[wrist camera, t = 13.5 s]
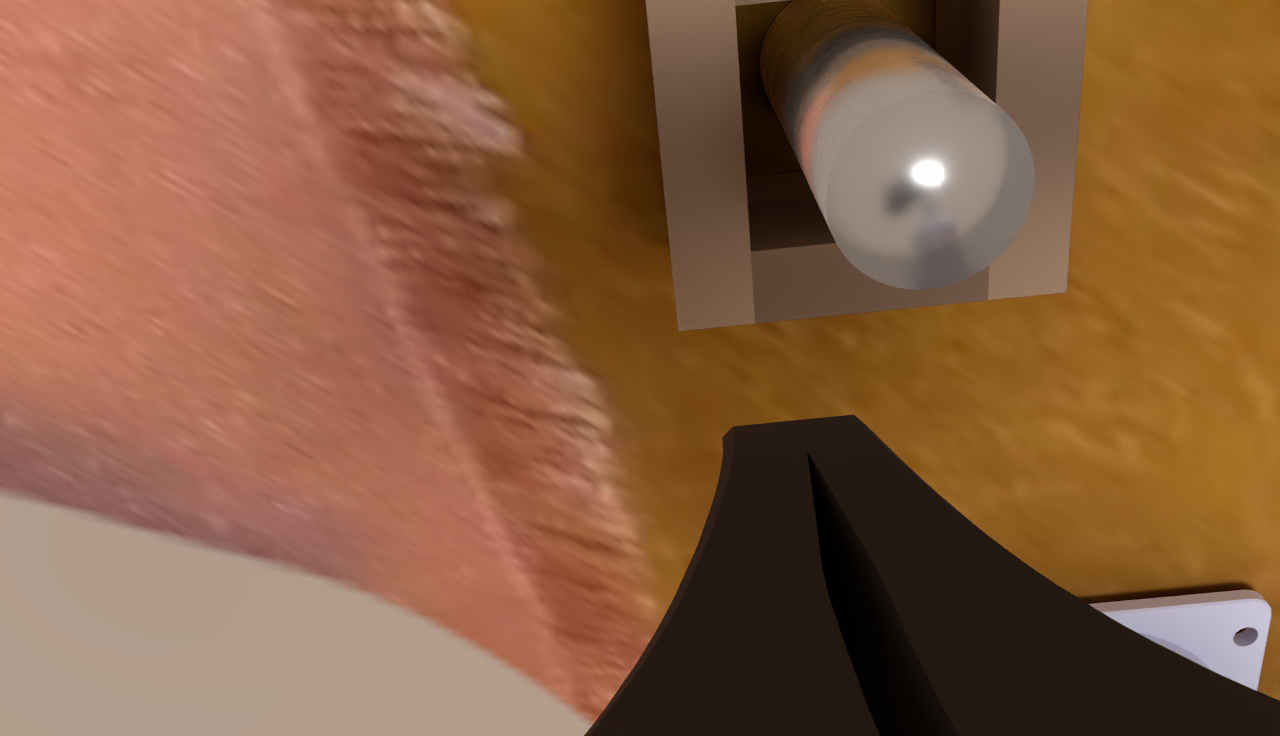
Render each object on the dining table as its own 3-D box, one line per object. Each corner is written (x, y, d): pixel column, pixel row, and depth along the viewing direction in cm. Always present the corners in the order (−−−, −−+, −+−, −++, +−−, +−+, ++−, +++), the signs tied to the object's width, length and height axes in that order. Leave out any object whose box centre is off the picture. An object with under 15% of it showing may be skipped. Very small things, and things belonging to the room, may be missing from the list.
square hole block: (999, 214, 21) (1065, 292, 18) (668, 248, 21) (677, 331, 18) (1015, -147, 18) (1097, -129, 15) (634, -103, 18) (637, -79, 15)
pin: (901, 121, 20) (1030, 278, 14) (764, 136, 20) (829, 300, 14) (900, -22, 19) (1040, 77, 13) (754, -5, 19) (821, 103, 13)
